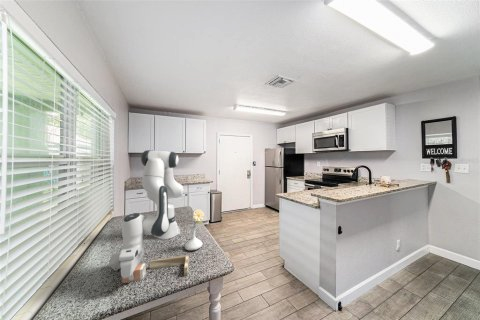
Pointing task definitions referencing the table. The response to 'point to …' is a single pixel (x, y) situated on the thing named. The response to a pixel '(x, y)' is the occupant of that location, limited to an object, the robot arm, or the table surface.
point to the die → (115, 261)
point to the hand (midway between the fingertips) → (134, 274)
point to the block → (137, 273)
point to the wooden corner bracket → (171, 262)
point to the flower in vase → (194, 242)
